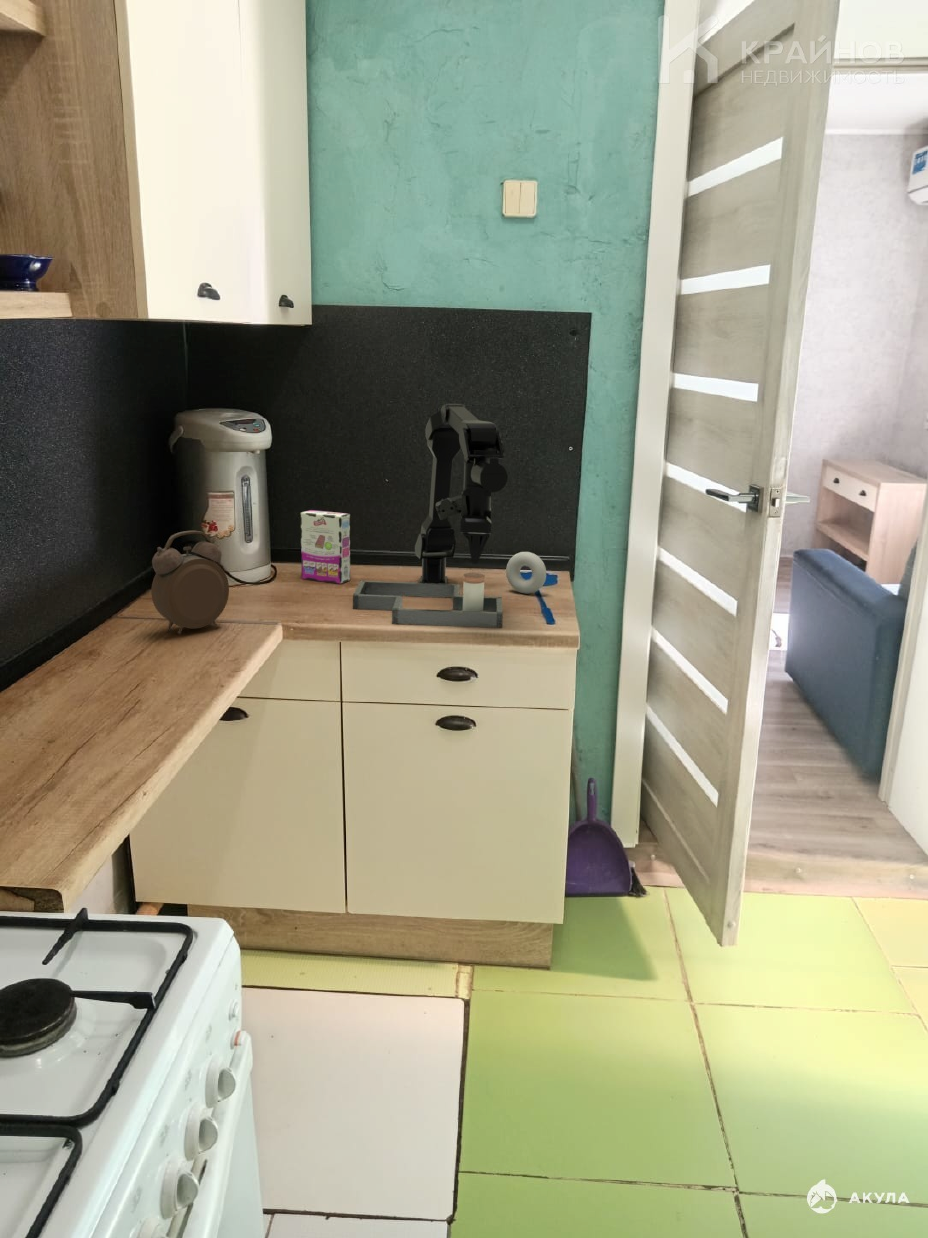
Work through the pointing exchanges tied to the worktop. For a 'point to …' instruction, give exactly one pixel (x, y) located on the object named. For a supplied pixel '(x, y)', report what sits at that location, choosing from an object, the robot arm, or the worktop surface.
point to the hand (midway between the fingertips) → (474, 558)
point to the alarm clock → (189, 583)
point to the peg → (473, 592)
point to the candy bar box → (325, 546)
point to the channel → (391, 596)
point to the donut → (536, 568)
